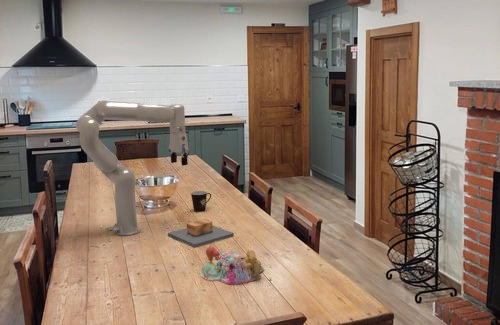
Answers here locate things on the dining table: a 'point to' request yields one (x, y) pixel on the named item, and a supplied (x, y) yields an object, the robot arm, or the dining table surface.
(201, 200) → the coffee mug
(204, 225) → the block
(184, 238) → the board
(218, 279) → the candy landscape model
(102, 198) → the dining table surface
